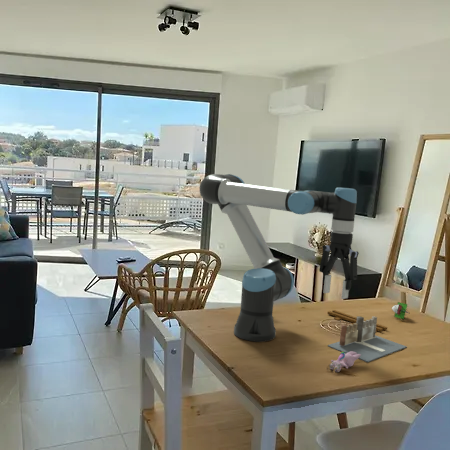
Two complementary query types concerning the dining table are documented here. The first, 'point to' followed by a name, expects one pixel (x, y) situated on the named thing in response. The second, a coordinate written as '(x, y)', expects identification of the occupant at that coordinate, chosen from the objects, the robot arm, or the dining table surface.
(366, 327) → the white fence section
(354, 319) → the decorative fence
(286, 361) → the dining table surface
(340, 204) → the robot arm
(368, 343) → the board
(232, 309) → the dining table surface
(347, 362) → the rabbit figure
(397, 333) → the dining table surface
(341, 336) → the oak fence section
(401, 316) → the geometric puzzle
